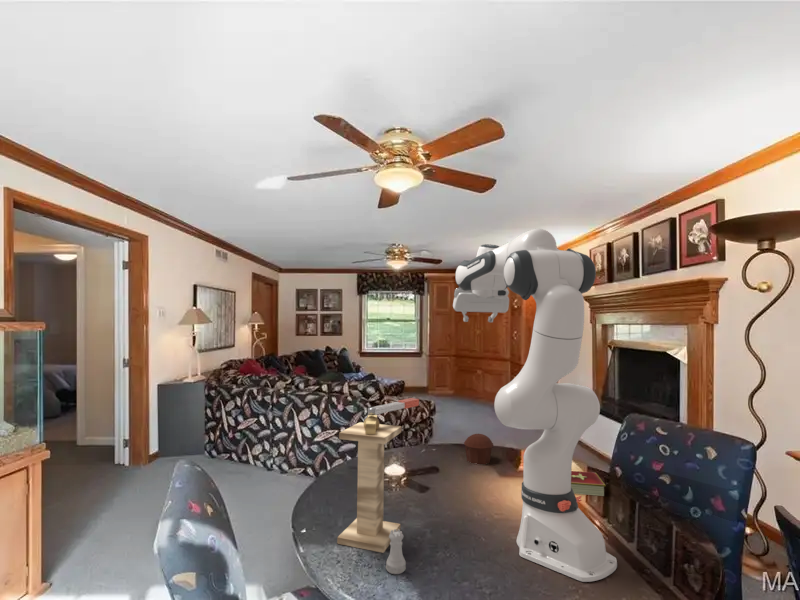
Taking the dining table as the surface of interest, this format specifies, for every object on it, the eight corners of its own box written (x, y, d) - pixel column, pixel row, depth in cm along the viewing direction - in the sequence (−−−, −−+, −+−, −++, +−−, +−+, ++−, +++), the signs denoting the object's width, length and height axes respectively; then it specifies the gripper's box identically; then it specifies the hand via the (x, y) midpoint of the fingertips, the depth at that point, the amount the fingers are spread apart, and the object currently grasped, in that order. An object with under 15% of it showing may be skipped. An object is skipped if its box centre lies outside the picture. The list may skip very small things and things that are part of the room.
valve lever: (373, 416, 110) (373, 409, 110) (364, 414, 112) (365, 407, 112) (418, 405, 125) (418, 399, 125) (411, 404, 126) (411, 397, 126)
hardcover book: (531, 479, 153) (531, 467, 153) (595, 484, 149) (595, 471, 149) (535, 492, 141) (535, 479, 141) (605, 498, 137) (605, 484, 137)
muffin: (486, 468, 163) (486, 440, 163) (459, 462, 168) (459, 436, 169) (497, 459, 173) (497, 433, 173) (470, 454, 178) (471, 429, 179)
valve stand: (383, 552, 103) (385, 423, 104) (337, 543, 107) (339, 419, 108) (400, 529, 114) (401, 413, 115) (358, 522, 118) (359, 409, 119)
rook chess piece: (405, 563, 98) (405, 527, 99) (406, 575, 94) (407, 536, 94) (385, 563, 98) (386, 527, 98) (385, 575, 94) (386, 536, 94)
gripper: (456, 290, 154) (452, 324, 160) (513, 291, 157) (506, 326, 162) (453, 283, 160) (449, 316, 166) (508, 284, 162) (501, 318, 168)
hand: (477, 321), depth 164 cm, fingers open, 8 cm apart
